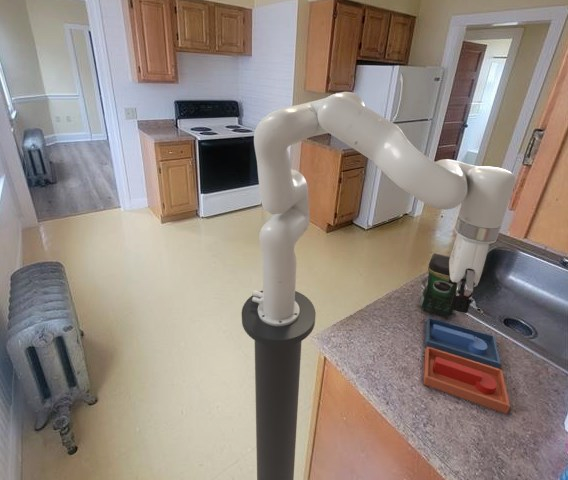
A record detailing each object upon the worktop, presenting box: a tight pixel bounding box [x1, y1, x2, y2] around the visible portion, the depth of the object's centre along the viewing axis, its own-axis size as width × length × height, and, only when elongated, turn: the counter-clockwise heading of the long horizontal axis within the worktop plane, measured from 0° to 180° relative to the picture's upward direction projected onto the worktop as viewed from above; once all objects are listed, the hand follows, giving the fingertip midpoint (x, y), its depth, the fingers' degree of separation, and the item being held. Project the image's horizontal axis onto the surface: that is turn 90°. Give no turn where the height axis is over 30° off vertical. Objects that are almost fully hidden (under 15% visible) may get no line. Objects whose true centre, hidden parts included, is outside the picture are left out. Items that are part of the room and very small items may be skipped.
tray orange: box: [423, 346, 511, 415], centre depth 78 cm, size 17×10×2 cm, turn 66°
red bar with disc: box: [433, 357, 497, 395], centre depth 77 cm, size 13×4×3 cm, turn 66°
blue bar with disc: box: [431, 324, 487, 355], centre depth 88 cm, size 13×4×3 cm, turn 66°
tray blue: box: [424, 316, 502, 369], centre depth 88 cm, size 17×10×2 cm, turn 66°
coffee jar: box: [420, 252, 457, 318], centre depth 98 cm, size 10×8×19 cm
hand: (457, 296), depth 71 cm, fingers open, 9 cm apart
